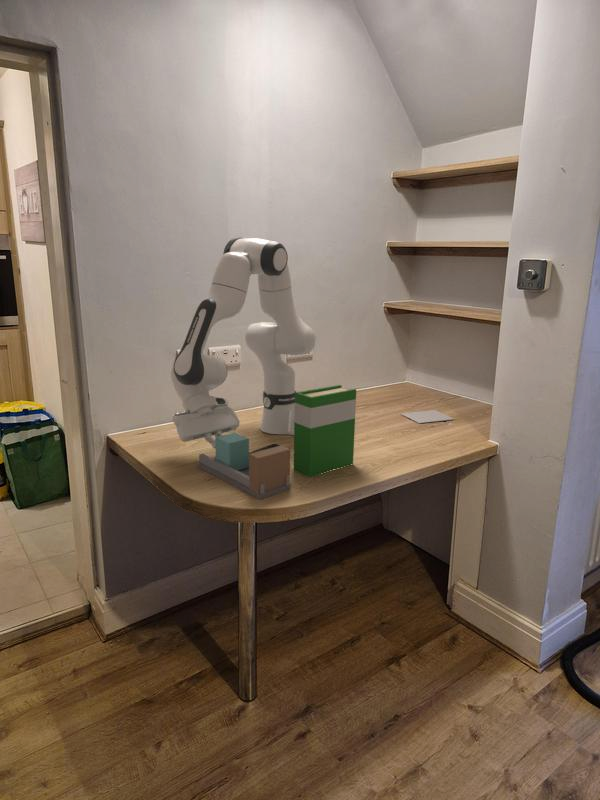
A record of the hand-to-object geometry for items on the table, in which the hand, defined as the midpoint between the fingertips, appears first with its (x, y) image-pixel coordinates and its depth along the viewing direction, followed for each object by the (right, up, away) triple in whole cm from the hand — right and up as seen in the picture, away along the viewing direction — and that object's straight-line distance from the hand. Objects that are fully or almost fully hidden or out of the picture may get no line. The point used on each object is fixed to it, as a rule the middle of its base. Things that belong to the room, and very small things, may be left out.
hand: (218, 446), depth 173 cm
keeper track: (+8, -8, -7) cm, 14 cm away
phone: (+14, -4, +13) cm, 19 cm away
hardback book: (+32, -7, +2) cm, 33 cm away
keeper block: (+5, -6, -4) cm, 8 cm away
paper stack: (+73, +5, +52) cm, 90 cm away
